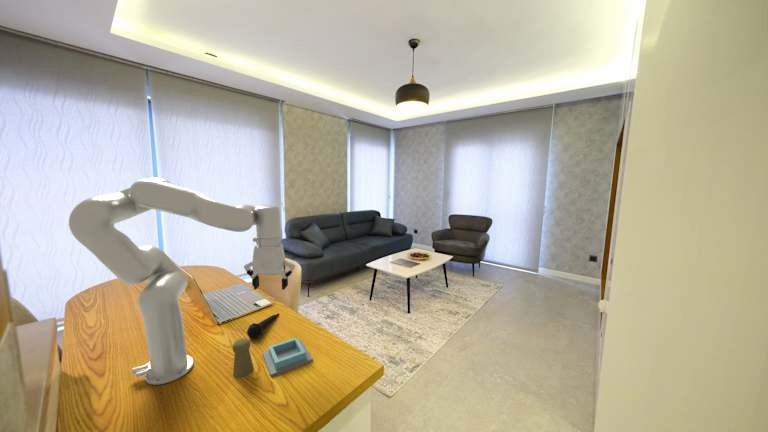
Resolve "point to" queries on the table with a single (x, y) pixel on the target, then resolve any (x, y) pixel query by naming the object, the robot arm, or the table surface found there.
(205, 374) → the table surface
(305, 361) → the socket
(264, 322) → the microphone
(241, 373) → the cork
